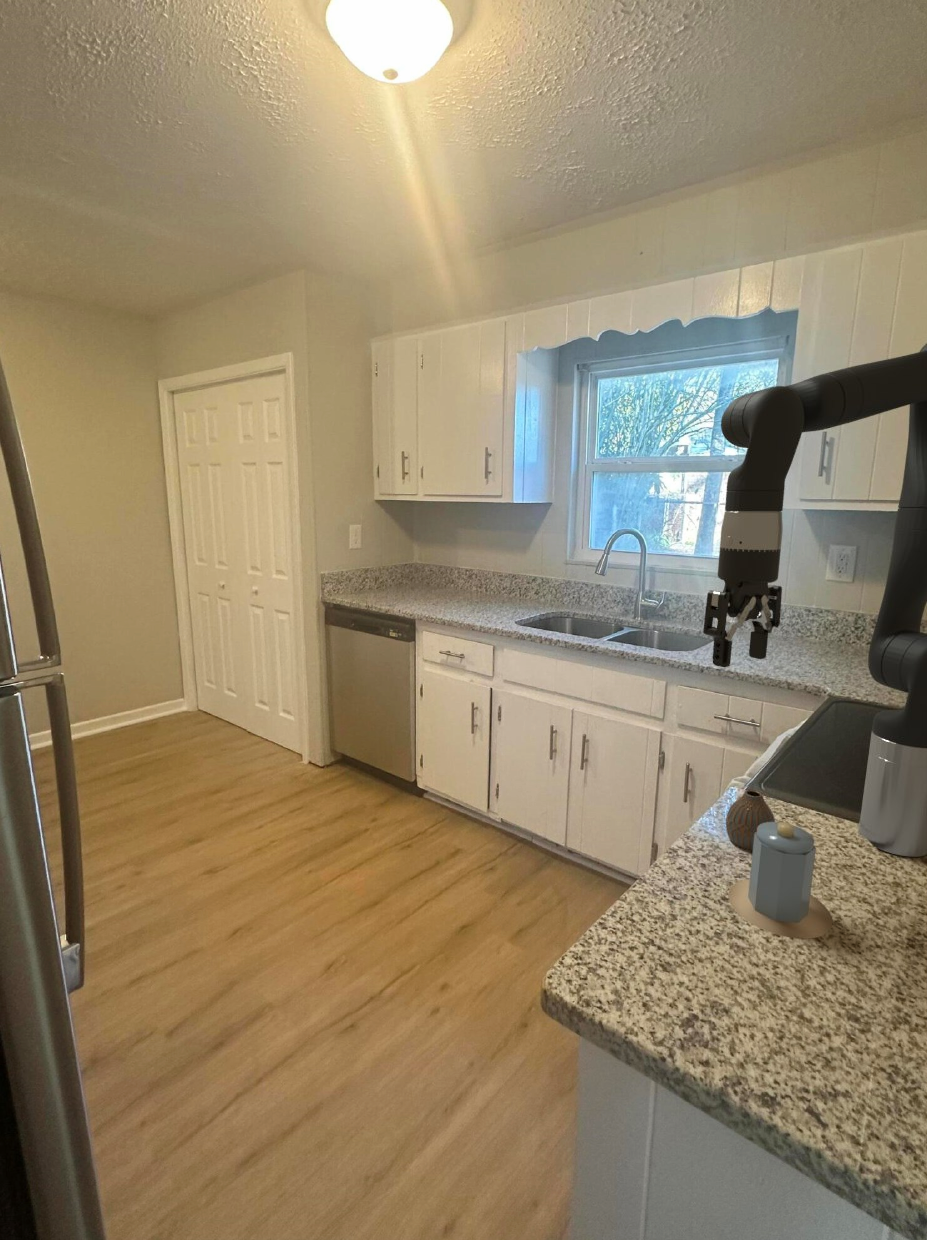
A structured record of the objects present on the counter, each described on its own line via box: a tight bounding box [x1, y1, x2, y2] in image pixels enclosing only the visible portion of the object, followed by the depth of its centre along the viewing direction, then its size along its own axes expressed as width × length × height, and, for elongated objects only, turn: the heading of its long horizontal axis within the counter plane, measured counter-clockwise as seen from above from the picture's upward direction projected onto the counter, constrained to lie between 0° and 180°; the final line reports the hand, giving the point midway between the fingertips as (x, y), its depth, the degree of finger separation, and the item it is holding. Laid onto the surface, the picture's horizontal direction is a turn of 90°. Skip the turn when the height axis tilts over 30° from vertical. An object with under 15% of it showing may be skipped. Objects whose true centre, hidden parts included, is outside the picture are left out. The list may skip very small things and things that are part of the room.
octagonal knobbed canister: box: [748, 821, 817, 923], centre depth 79 cm, size 6×6×11 cm
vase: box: [725, 789, 776, 852], centre depth 95 cm, size 7×7×9 cm
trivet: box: [727, 878, 833, 940], centre depth 80 cm, size 12×12×1 cm
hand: (739, 661), depth 87 cm, fingers open, 8 cm apart
